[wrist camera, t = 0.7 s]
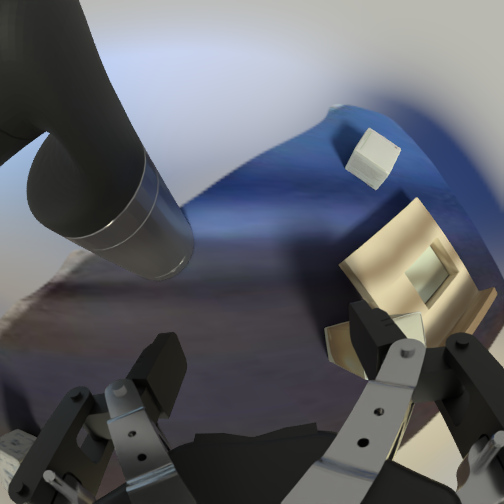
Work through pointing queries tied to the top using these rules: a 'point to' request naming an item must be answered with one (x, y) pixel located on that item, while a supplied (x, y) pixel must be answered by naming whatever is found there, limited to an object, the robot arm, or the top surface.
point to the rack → (418, 276)
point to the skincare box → (345, 353)
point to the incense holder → (13, 453)
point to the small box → (373, 158)
